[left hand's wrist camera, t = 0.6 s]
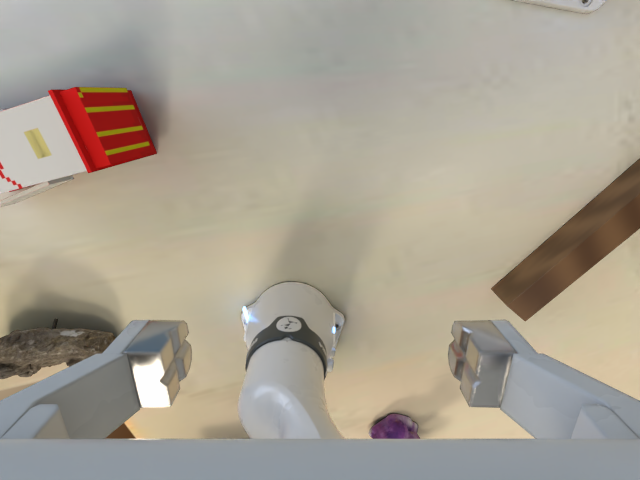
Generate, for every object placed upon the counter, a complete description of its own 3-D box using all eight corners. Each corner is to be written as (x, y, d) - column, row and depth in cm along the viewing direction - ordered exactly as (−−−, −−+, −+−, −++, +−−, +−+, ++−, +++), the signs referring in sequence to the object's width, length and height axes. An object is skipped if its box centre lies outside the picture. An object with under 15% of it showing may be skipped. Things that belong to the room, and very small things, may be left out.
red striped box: (-133, 137, 42) (61, 70, 36) (-21, 127, 54) (139, 76, 48) (-70, 227, 47) (113, 182, 40) (21, 199, 59) (173, 161, 52)
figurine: (429, 427, 73) (456, 503, 59) (390, 449, 75) (406, 527, 61) (404, 401, 70) (425, 474, 56) (364, 425, 72) (375, 500, 58)
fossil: (9, 391, 64) (-74, 379, 51) (23, 339, 69) (-50, 316, 56) (128, 370, 65) (78, 353, 52) (134, 321, 70) (89, 294, 57)
